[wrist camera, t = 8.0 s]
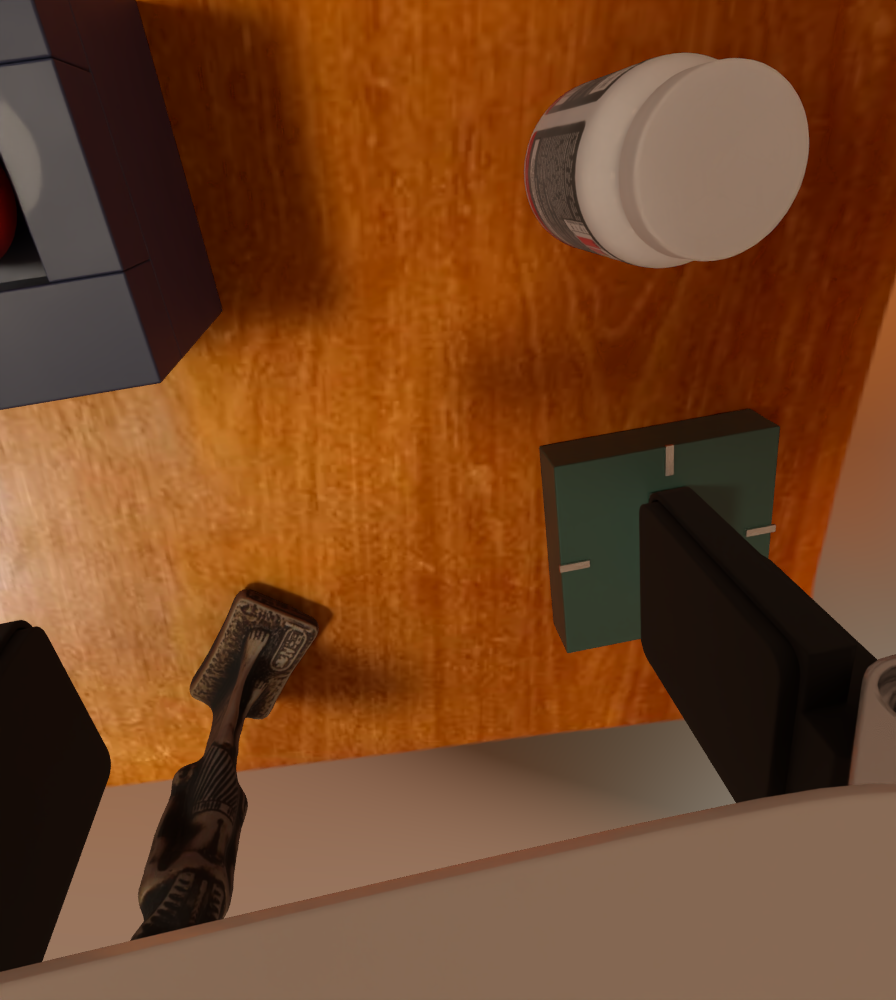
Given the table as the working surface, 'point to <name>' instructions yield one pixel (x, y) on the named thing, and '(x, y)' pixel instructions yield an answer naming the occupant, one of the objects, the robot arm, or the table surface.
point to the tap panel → (617, 499)
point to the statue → (219, 765)
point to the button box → (92, 208)
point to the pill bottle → (669, 160)
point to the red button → (6, 213)
